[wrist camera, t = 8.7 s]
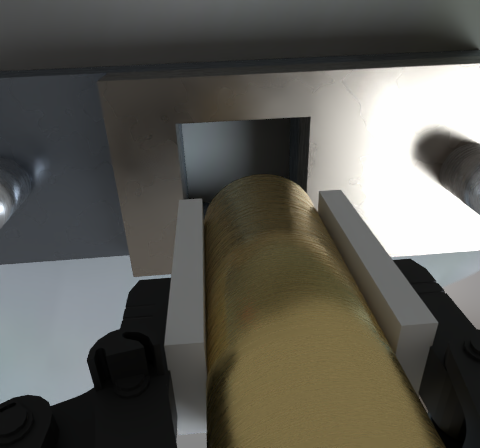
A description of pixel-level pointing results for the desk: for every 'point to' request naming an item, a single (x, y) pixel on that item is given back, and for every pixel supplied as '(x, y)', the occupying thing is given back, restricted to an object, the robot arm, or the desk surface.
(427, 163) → the door bolt
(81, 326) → the desk surface
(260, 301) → the brass pin
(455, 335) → the robot arm
